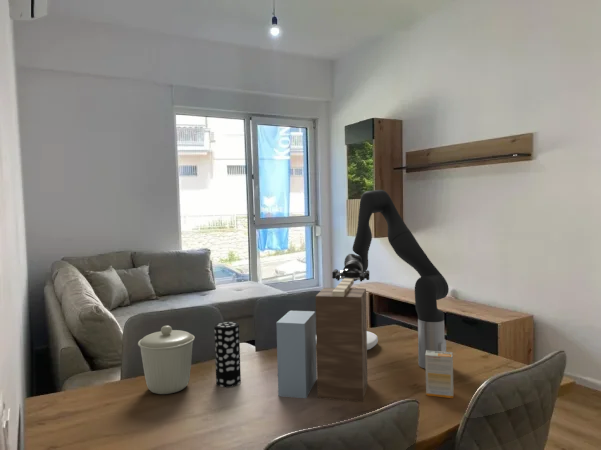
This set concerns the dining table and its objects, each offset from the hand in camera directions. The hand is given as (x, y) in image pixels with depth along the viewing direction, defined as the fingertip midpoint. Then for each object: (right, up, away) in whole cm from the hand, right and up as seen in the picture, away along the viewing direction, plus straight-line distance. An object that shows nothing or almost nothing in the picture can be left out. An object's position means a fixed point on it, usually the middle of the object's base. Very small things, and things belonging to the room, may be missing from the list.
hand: (349, 278), depth 170 cm
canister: (-62, -35, -18) cm, 74 cm away
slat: (-4, -1, -20) cm, 21 cm away
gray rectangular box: (-19, -34, -20) cm, 43 cm away
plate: (+1, -32, +22) cm, 39 cm away
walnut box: (-5, -33, -23) cm, 41 cm away
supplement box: (+25, -33, -28) cm, 50 cm away
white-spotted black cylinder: (-43, -34, -14) cm, 57 cm away
